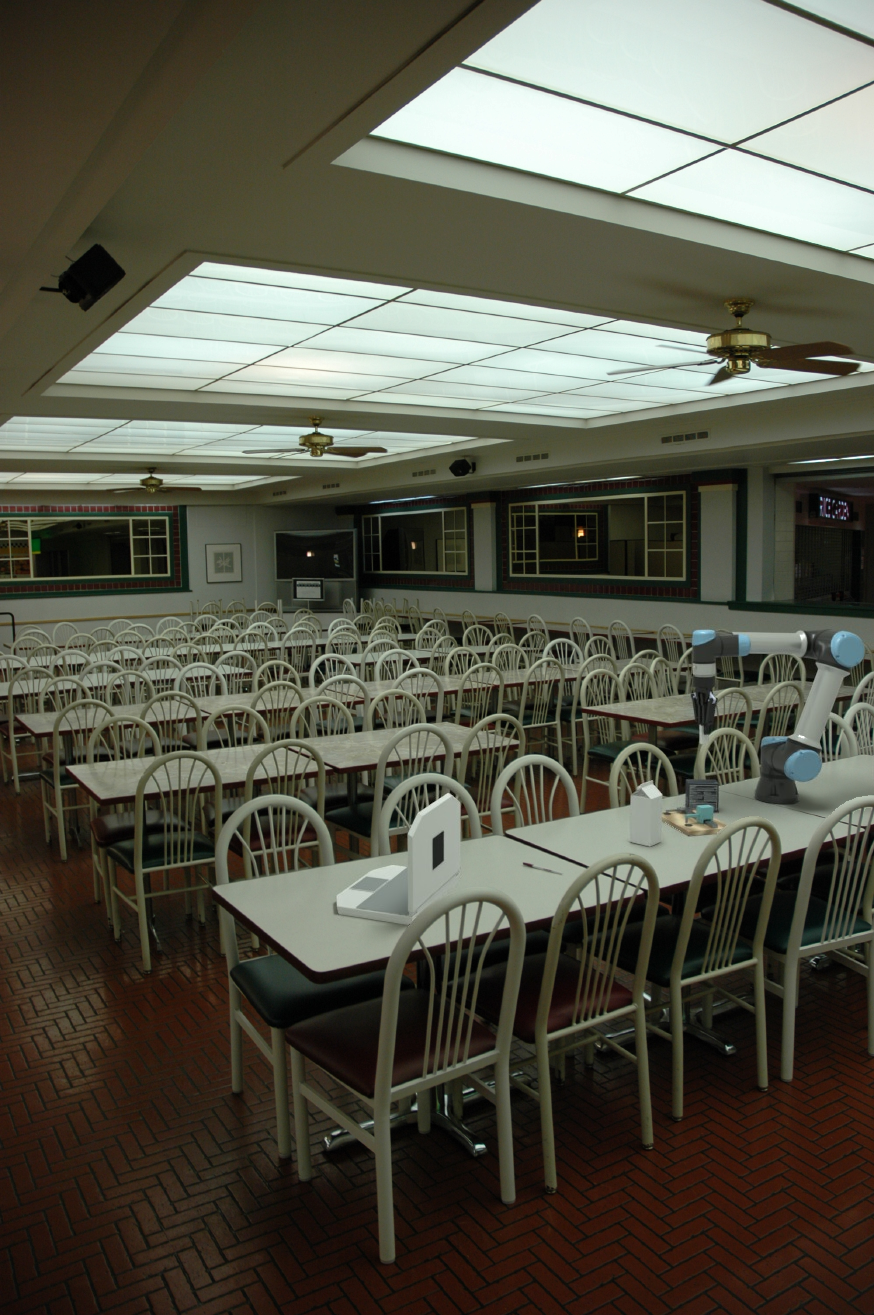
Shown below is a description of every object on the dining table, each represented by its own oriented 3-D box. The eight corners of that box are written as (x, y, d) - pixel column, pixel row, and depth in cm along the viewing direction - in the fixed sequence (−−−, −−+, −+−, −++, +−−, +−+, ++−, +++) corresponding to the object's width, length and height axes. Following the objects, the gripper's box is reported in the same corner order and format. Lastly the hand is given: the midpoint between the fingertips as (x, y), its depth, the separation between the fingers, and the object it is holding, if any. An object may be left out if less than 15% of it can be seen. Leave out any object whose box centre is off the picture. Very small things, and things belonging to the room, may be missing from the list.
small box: (715, 808, 326) (716, 778, 325) (719, 813, 320) (719, 783, 319) (684, 807, 327) (685, 778, 326) (687, 812, 321) (688, 782, 320)
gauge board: (697, 813, 319) (697, 809, 319) (733, 832, 298) (733, 827, 297) (655, 817, 315) (655, 812, 315) (688, 836, 294) (688, 831, 293)
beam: (688, 810, 317) (688, 806, 317) (721, 827, 298) (721, 823, 297) (663, 812, 315) (664, 808, 315) (695, 830, 295) (695, 825, 295)
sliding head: (708, 820, 305) (708, 804, 304) (713, 822, 302) (713, 807, 302) (683, 822, 303) (683, 806, 302) (687, 825, 300) (688, 809, 299)
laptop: (380, 871, 263) (380, 780, 260) (460, 882, 254) (460, 787, 252) (324, 913, 232) (322, 810, 230) (413, 927, 224) (412, 820, 221)
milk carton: (661, 842, 288) (663, 782, 286) (649, 847, 283) (651, 786, 281) (641, 837, 293) (642, 778, 291) (629, 842, 287) (630, 782, 285)
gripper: (683, 674, 321) (684, 741, 323) (705, 678, 308) (705, 748, 311) (702, 672, 323) (702, 739, 325) (724, 676, 310) (724, 746, 313)
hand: (704, 743), depth 318 cm, fingers closed
